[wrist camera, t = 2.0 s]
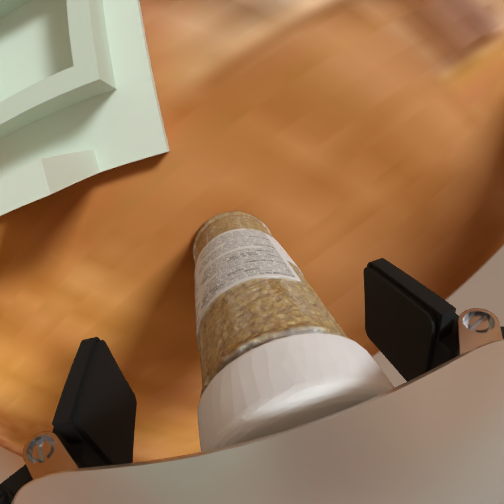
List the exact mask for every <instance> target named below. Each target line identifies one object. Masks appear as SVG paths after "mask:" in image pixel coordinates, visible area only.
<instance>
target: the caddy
mask: <svg viewBox="0 0 504 504" xmlns="http://www.w3.org/2000/svg"><path fill="white" fill-rule="evenodd" d="M168 151H170V150H169V146H168V142H167V137H166V133H165V129H164V124H163V120H162V115H161V111H160V106H159V101H158V97H157V92H156V87H155V82H154V78H153V73H152V68H151V63H150V57H149V52H148V47H147V41H146V36H145V30H144V25H143V19H142V13H141V7H140V1H139V0H0V216H1V215H3V214H5V213H8V212H10V211H12V210H14V209H17V208H19V207H21V206H24V205H26V204H29V203H31V202H33V201H36V200H38V199H41V198H43V197H46V196H48V195H51V194H53V193H55V192H57V191H59V190H61V189H64V188H66V187H68V186H70V185H72V184H74V183H77V182H79V181H81V180H83V179H86V178H88V177H90V176H93V175H95V174H97V173H100V172H103V171H106V170H109V169H112V168H115V167H118V166H121V165H124V164H127V163H131V162H134V161H137V160H141V159H144V158H147V157H151V156H154V155H158V154H162V153H165V152H168Z"/></svg>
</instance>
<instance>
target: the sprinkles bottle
mask: <svg viewBox="0 0 504 504" xmlns="http://www.w3.org/2000/svg"><path fill="white" fill-rule="evenodd" d="M193 259H194V262H195V308H196V333H197V344H198V348H199V352H200V360H201V370H202V386H203V388H202V391H201V400H200V403H199V407H198V427H199V437H200V446H201V452H204V451H208V450H213V449H218V448H222V447H226V446H231V445H235V444H239V443H243V442H247V441H250V440H254V439H258V438H261V437H265V436H268V435H272V434H275V433H279V432H282V431H285V430H288V429H291V428H295V427H298V426H301V425H304V424H307V423H309V422H312V421H315V420H318V419H321V418H324V417H326V416H329V415H332V414H334V413H337V412H339V411H342V410H345V409H347V408H350V407H352V406H355V405H357V404H359V403H362V402H364V401H367V400H369V399H371V398H374V397H376V396H378V395H380V394H383V393H385V392H387V391H389V390H391V389H393V388H394V386H393V385H392V384H391V382H390V381H389V379H388V378H387V377H386V375H385V374H384V373H383V371H382V370H381V368H380V367H379V366H378V365H377V363H376V362H375V361H374V359H373V358H372V357H371V355H370V354H369V353H368V352H367V350H365V349H364V348H363V347H361V346H360V345H359V344H358V343H356V342H355V341H353V340H350V339H349V338H348V337H347V336H346V334H345V333H344V331H343V330H342V329H341V328H340V326H339V325H338V323H337V322H336V320H335V319H334V317H333V316H332V315H331V314H330V313H329V312H328V310H327V309H326V307H325V306H324V304H323V303H322V301H321V299H320V298H319V297H318V296H317V294H316V292H315V291H314V290H313V289H312V288H311V286H310V285H309V284H308V282H307V281H306V280H305V278H304V277H303V275H302V273H301V271H300V269H299V268H298V267H297V265H296V264H295V263H294V262H293V260H292V259H291V258H290V257H289V255H288V254H287V253H286V251H285V250H284V249H283V248H282V246H281V245H280V244H279V243H278V242H277V241H276V240H275V239H274V238H273V237H272V235H271V232H270V231H269V229H268V227H267V226H266V225H265V224H264V223H263V222H262V221H261V220H260V219H258V218H256V217H255V216H253V215H250V214H247V213H243V212H240V211H233V212H225V213H222V214H219V215H216V216H214V217H213V218H211V219H210V220H208V221H207V222H206V223H205V224H204V225H203V226H202V227H201V229H200V230H199V232H198V234H197V235H196V238H195V241H194V245H193Z"/></svg>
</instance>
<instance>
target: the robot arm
mask: <svg viewBox="0 0 504 504" xmlns="http://www.w3.org/2000/svg"><path fill="white" fill-rule="evenodd" d="M364 290H365V330H366V334H367V336H368V337H369V339H370V340H371V341H372V342H373V343H374V344H375V345H376V347H377V348H378V349H379V350H380V351H381V352H382V353H383V354H384V355H385V357H386V358H387V359H388V360H389V361H390V362H391V364H392V365H393V366H394V367H395V368H396V369H397V370H398V372H399V373H400V374H401V375H402V376H403V377H404V379H405V380H406V381H407V382H406V383H404V384H402V385H400V386H398V387H395V388H393V389H391V390H389V391H387V392H385V393H383V394H380V395H378V396H376V397H374V398H371V399H369V400H367V401H364V402H362V403H359V404H357V405H355V406H352V407H350V408H347V409H345V410H342V411H339V412H337V413H334V414H332V415H329V416H326V417H324V418H321V419H318V420H315V421H312V422H309V423H307V424H304V425H301V426H298V427H295V428H291V429H288V430H285V431H282V432H279V433H275V434H272V435H268V436H265V437H261V438H258V439H254V440H250V441H247V442H243V443H239V444H235V445H231V446H226V447H222V448H218V449H213V450H208V451H204V452H199V453H194V454H188V455H183V456H177V457H171V458H165V459H158V460H151V461H143V462H136V463H132V461H133V443H134V428H135V416H136V404H137V402H136V397H135V395H134V393H133V391H132V390H131V388H130V386H129V384H128V383H127V381H126V379H125V377H124V376H123V374H122V372H121V370H120V369H119V367H118V365H117V363H116V361H115V359H114V357H113V356H112V354H111V352H110V350H109V348H108V346H107V344H106V342H105V341H104V340H100V339H99V338H98V337H94V338H90V339H85V340H82V342H81V344H80V346H79V349H78V351H77V354H76V357H75V359H74V362H73V364H72V367H71V370H70V372H69V375H68V378H67V381H66V383H65V386H64V389H63V392H62V395H61V398H60V401H59V404H58V407H57V410H56V413H55V416H54V419H53V422H52V425H53V426H54V429H53V432H49V431H44V432H40V433H37V434H35V435H34V436H32V437H31V438H30V439H29V440H28V442H27V443H26V444H25V447H24V449H23V458H24V461H25V463H26V464H25V465H24V466H23V467H22V468H20V469H19V470H18V471H17V472H15V473H14V474H13V475H12V476H10V477H9V478H8V479H6V480H5V481H4V482H2V483H1V484H0V504H504V327H501V326H500V323H499V320H498V318H497V317H496V316H495V315H494V314H493V313H492V312H490V311H488V310H485V309H479V308H474V309H469V310H466V311H464V312H463V313H461V315H460V316H458V315H457V314H456V313H455V311H456V308H455V307H453V306H452V305H450V304H449V303H448V302H446V301H445V300H444V299H442V298H441V297H439V296H438V295H437V294H435V293H434V292H432V291H431V290H430V289H428V288H427V287H425V286H424V285H422V284H421V283H419V282H418V281H417V280H415V279H414V278H412V277H411V276H409V275H408V274H406V273H405V272H403V271H402V270H400V269H399V268H397V267H396V266H394V265H393V264H391V263H390V262H388V261H387V260H385V259H383V258H381V259H378V260H375V261H372V262H369V263H368V264H367V267H366V268H365V269H364Z"/></svg>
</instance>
